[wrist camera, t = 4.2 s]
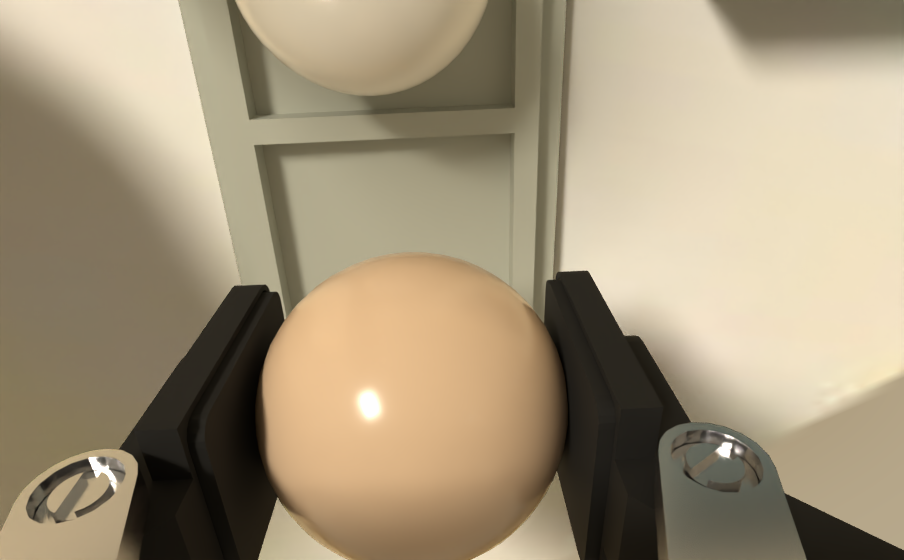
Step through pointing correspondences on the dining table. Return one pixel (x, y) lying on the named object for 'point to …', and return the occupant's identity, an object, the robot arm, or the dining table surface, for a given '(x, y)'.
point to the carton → (387, 154)
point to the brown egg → (411, 410)
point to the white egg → (364, 39)
